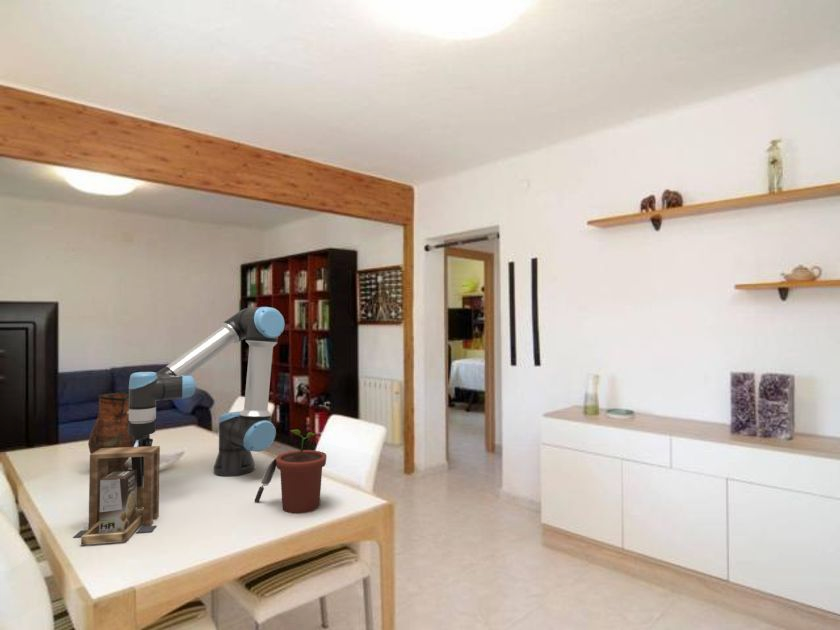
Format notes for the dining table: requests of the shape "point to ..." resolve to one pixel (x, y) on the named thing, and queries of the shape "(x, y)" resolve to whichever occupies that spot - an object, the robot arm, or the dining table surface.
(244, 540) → the dining table surface
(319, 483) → the potted plant
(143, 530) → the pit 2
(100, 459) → the brown open upright frame
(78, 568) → the dining table surface
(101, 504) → the coffee box
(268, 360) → the robot arm
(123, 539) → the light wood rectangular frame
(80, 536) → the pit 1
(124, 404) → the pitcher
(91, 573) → the dining table surface
